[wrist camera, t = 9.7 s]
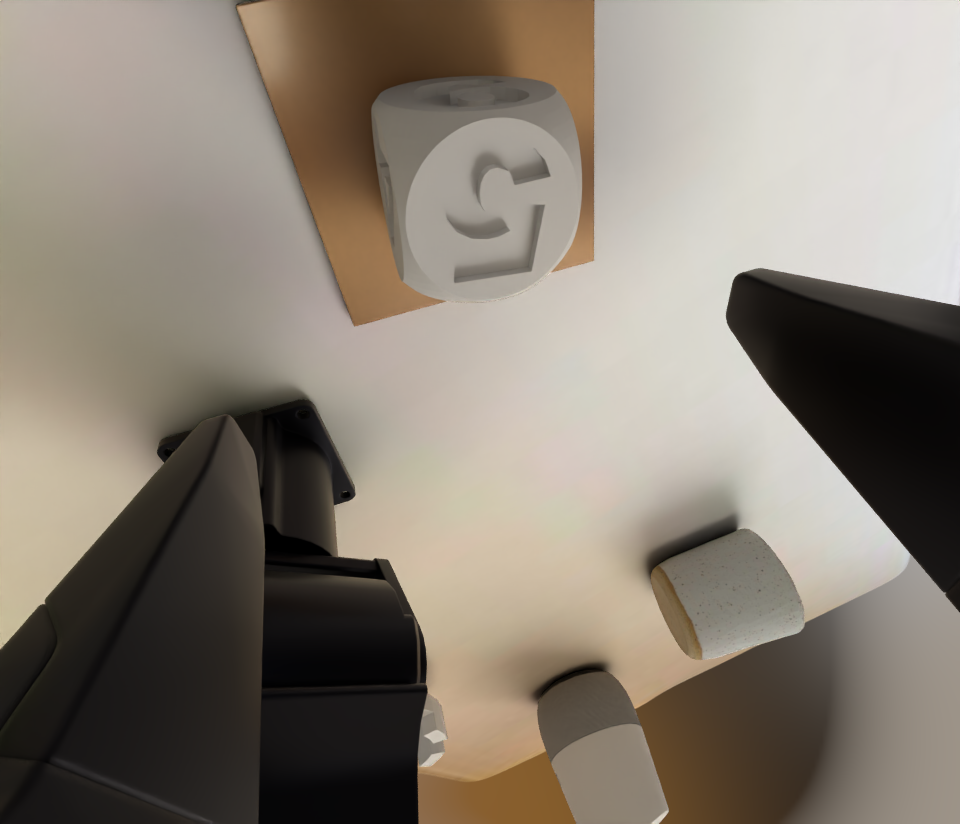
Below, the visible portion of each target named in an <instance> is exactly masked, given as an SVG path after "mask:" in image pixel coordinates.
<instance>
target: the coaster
mask: <svg viewBox="0 0 960 824" xmlns="http://www.w3.org/2000/svg"><path fill="white" fill-rule="evenodd" d="M236 9H237V12H238V14H239V17H240V20H241V23H242V25H243V28H244V31H245V33H246V36H247V39H248V41H249V44H250V47H251V50H252V52H253V55H254V58H255V60H256V63H257V66H258V68H259V71H260V74H261V77H262V79H263V82H264V85H265V87H266V90H267V93H268V95H269V98H270V101H271V103H272V106H273V109H274V112H275V114H276V117H277V120H278V122H279V125H280V128H281V130H282V133H283V136H284V139H285V141H286V144H287V147H288V149H289V152H290V155H291V157H292V160H293V163H294V166H295V168H296V171H297V174H298V176H299V179H300V182H301V184H302V187H303V190H304V192H305V195H306V198H307V201H308V203H309V206H310V209H311V211H312V214H313V217H314V219H315V222H316V225H317V228H318V230H319V233H320V236H321V238H322V241H323V244H324V246H325V249H326V252H327V255H328V257H329V260H330V263H331V265H332V268H333V271H334V273H335V276H336V279H337V282H338V284H339V287H340V290H341V292H342V295H343V298H344V300H345V303H346V306H347V308H348V311H349V314H350V317H351V319H352V322H353V325H354V326H358V325H362V324H366V323H369V322H373V321H377V320H380V319H384V318H387V317H391V316H395V315H398V314H402V313H406V312H409V311H413V310H417V309H420V308H424V307H427V306H431V305H435V304H438V303H442V302H446V301H444V300H439V299H435V298H432V297H428V296H426V295H423V294H421V293H419V292H417V291H415V290H414V289H412V288H411V287H409V286H408V285H407V284H405V283H404V282H402V281H401V279H400V277H399V274H398V271H397V268H396V264H395V260H394V256H393V252H392V248H391V243H390V239H389V234H388V229H387V224H386V219H385V214H384V208H383V202H382V197H381V191H380V185H379V178H378V172H377V165H376V158H375V150H374V141H373V132H372V118H371V108H372V105H373V103H374V102H375V100H376V99H377V97H378V96H379V94H380V93H381V92H383V91H384V90H386V89H389V88H391V87H394V86H397V85H401V84H405V83H410V82H415V81H421V80H427V79H435V78H445V77H459V76H508V77H520V78H528V79H534V80H539V81H543V82H546V83H549V84H551V85H553V86H554V87H555V88H556V89H557V90H558V92H559V93H560V94H561V95H562V97H563V98H564V99H565V101H566V103H567V105H568V107H569V109H570V112H571V114H572V117H573V120H574V123H575V127H576V131H577V136H578V141H579V147H580V155H581V167H582V199H581V209H580V217H579V222H578V227H577V231H576V234H575V237H574V240H573V242H572V245H571V247H570V248H569V250H568V251H567V253H566V254H565V256H564V257H563V259H562V260H561V261H560V262H559V264H558V265H557V266H556V267H555V268H554V269H553V270H552V271H551V272H555V271H558V270H562V269H566V268H569V267H573V266H577V265H580V264H584V263H587V262H591V261H594V0H256V1H251V2H246V3H241V4H237V5H236ZM551 272H550V273H551Z"/></svg>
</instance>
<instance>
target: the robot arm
mask: <svg viewBox="0 0 960 824" xmlns="http://www.w3.org/2000/svg"><path fill="white" fill-rule="evenodd" d="M726 320H727V324H728V326H729V328H730V329H731V331H732V332H733V334H734V335H735V337H736V338H737V340H738V341H739V343H740V344H741V346H742V347H743V349H744V350H745V352H746V353H747V355H748V356H749V358H750V359H751V361H752V362H753V364H754V365H755V367H756V368H757V370H758V371H759V373H760V374H761V376H762V377H763V379H764V380H765V381H766V383H767V384H768V386H769V387H770V388H771V389H772V391H773V392H774V393H775V394H776V396H777V397H778V398H779V399H780V401H781V402H782V403H783V404H784V405H785V406H786V408H787V409H788V410H789V411H790V412H791V413H792V415H793V416H794V417H795V418H796V419H797V421H798V422H799V423H800V424H801V425H802V426H803V428H804V429H805V430H806V431H807V432H808V434H809V435H810V436H811V437H812V438H813V439H814V441H815V442H816V443H817V444H818V445H819V446H820V448H821V449H822V450H823V451H824V452H825V454H826V455H827V456H828V457H829V458H830V459H831V461H832V462H833V463H834V464H835V465H836V467H837V468H838V469H839V470H840V471H841V472H842V474H843V475H844V476H845V477H846V478H847V480H848V481H849V482H850V483H851V484H852V485H853V487H854V488H855V489H856V490H857V491H858V492H859V494H860V495H861V496H862V497H863V498H864V500H865V501H866V502H867V503H868V504H869V505H870V507H871V508H872V509H873V510H874V511H875V513H876V514H877V515H878V516H879V517H880V518H881V520H882V521H883V522H884V523H885V524H886V525H887V527H888V528H889V529H890V530H891V531H892V533H893V534H894V535H895V536H896V537H897V538H898V540H899V541H900V542H901V543H902V544H903V546H904V547H905V548H906V549H907V550H908V551H909V553H910V554H911V555H912V556H913V557H914V559H915V560H916V561H917V562H918V563H919V564H920V565H921V567H922V568H923V569H924V570H925V571H926V573H927V574H928V575H929V576H930V577H931V578H932V580H933V581H934V582H935V583H936V584H937V585H938V587H939V588H940V589H941V590H942V591H943V592H946V594H945V595H946V597H947V598H948V599H949V600H950V602H952V604H953V605H954V606H955V607H956V609H957V610H958V611H959V612H960V306H957V305H951V304H946V303H941V302H936V301H930V300H925V299H920V298H915V297H909V296H904V295H899V294H894V293H888V292H883V291H878V290H873V289H868V288H862V287H857V286H852V285H847V284H841V283H836V282H831V281H826V280H820V279H815V278H810V277H805V276H800V275H794V274H789V273H784V272H779V271H773V270H768V269H763V268H758V269H753V270H750V271H746V272H743V273H740V274H738V275H737V276H736V277H735V279H734V280H733V283H732V288H731V292H730V297H729V302H728V306H727V311H726ZM300 410H307V411H308V412H306V413H300V412H298V411H300ZM167 448H173V449H176V450H174V451H172V450H169V449H167ZM157 454H158V456H159V457H160V458H161V459H162V461H163V462H164V464H163V465H162V467H161V468H160V469H159V470H158V471H157V472H156V473H155V474H154V476H153V477H152V478H151V479H150V480H149V481H148V482H147V484H146V485H145V486H144V487H143V488H142V489H141V490H140V492H139V493H138V494H137V495H136V496H135V497H134V498H133V500H132V501H131V502H130V503H129V504H128V505H127V506H126V508H125V509H124V510H123V511H122V512H121V513H120V514H119V516H118V517H117V518H116V519H115V520H114V521H113V522H112V524H111V525H110V526H109V527H108V528H107V529H106V530H105V532H104V533H103V534H102V535H101V536H100V537H99V538H98V540H97V541H96V542H95V543H94V544H93V545H92V546H91V548H90V549H89V550H88V551H87V552H86V553H85V554H84V556H83V557H82V558H81V559H80V560H79V561H78V562H77V563H76V565H75V566H74V567H73V568H72V569H71V570H70V571H69V573H68V574H67V575H66V576H65V577H64V578H63V579H62V581H61V582H60V583H59V584H58V585H57V586H56V587H55V589H54V590H53V591H52V592H51V593H50V594H49V595H48V597H47V598H46V599H45V604H42V605H40V606H39V607H38V608H37V609H36V610H35V611H34V612H33V614H32V615H31V616H30V617H29V618H28V619H27V620H26V622H25V623H24V624H23V625H22V626H21V627H20V628H19V630H18V631H17V632H16V633H15V634H14V635H13V636H12V637H11V638H10V640H9V641H8V642H7V643H6V644H5V645H4V646H3V647H2V648H1V649H0V824H418V782H417V773H418V747H419V737H420V727H421V720H422V716H423V711H424V707H425V702H426V698H427V685H426V684H425V683H426V670H427V660H426V648H425V643H424V637H423V634H422V632H421V629H420V626H419V624H418V622H417V620H416V618H415V616H414V613H413V611H412V609H411V607H410V605H409V603H408V601H407V599H406V596H405V594H404V592H403V590H402V588H401V586H400V584H399V582H398V580H397V577H396V575H395V573H394V571H393V569H392V567H391V565H390V563H389V561H388V560H387V559H377V558H375V559H374V560H364V559H354V558H344V557H338V550H337V537H336V525H335V512H334V505H337V504H340V503H343V502H346V501H349V500H351V499H353V498H354V496H355V487H354V484H353V482H352V480H351V478H350V476H349V474H348V472H347V470H346V468H345V466H344V464H343V462H342V460H341V458H340V456H339V454H338V452H337V450H336V448H335V446H334V444H333V442H332V440H331V438H330V436H329V434H328V432H327V429H326V427H325V425H324V423H323V421H322V419H321V417H320V415H319V413H318V411H317V409H316V407H315V405H314V404H313V403H312V402H311V401H309V400H305V399H302V400H297V401H293V402H290V403H286V404H283V405H279V406H276V407H272V408H269V409H265V410H262V411H258V412H252V413H249V414H245V415H242V416H238V417H235V418H232V417H231V416H230V415H227V414H224V415H220V416H216V417H213V418H209V419H205V420H203V421H201V422H200V423H199V424H198V425H197V427H196V428H195V429H194V430H192V431H188V432H185V433H181V434H178V435H174V436H171V437H167V438H165V439H163V440H161V441H160V443H159V446H158V450H157ZM343 491H347V492H343Z"/></svg>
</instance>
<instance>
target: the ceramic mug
mask: <svg viewBox="0 0 960 824" xmlns="http://www.w3.org/2000/svg"><path fill="white" fill-rule="evenodd" d="M651 584H652V588H653V591H654V594H655V597H656V600H657V603H658V605H659V608H660V610H661V612H662V615H663V617H664V619H665V621H666V623H667V625H668V627H669V629H670V631H671V633H672V635H673V636H674V638H675V640H676V642H677V643H678V645H679V646H680V648H681V649H682V650H683V652H684V653H685V654H686V655H688V656H689V657H690V658H692V659H695V660H704V659H712V658H718V657H721V656H725V655H728V654H731V653H734V652H737V651H739V650H742V649H745V648H749V647H752V646H756V645H759V644H763V643H766V642H769V641H772V640H776V639H779V638H782V637H786V636H789V635H793V634H796V633H799V632H800V631H801V630H802V629H803V628H804V623H805V617H804V609H803V604H802V601H801V598H800V596H799V594H798V592H797V590H796V587H795V585H794V583H793V580H792V578H791V577H790V575H789V574H788V572H787V570H786V569H785V567H784V565H783V564H782V563H781V561H780V560H779V559H778V557H777V556H776V554H775V553H774V552H773V550H772V549H771V548H770V546H768V545H767V543H766V542H765V541H764V540H763V539H762V538H761V537H759V536H758V535H757V534H756V533H755V532H753V531H751V530H749V529H740V530H737V531H735V532H732V533H730V534H728V535H725V536H723V537H720V538H718V539H715V540H712V541H710V542H707V543H705V544H703V545H700V546H698V547H696V548H694V549H691V550H689V551H686V552H683V553H681V554H678V555H676V556H674V557H671V558H669V559H667V560H665V561H664V562H662V563H660V564H659V565H657V566H656V567H655V568H654V569H653V571H652V574H651Z"/></svg>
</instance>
